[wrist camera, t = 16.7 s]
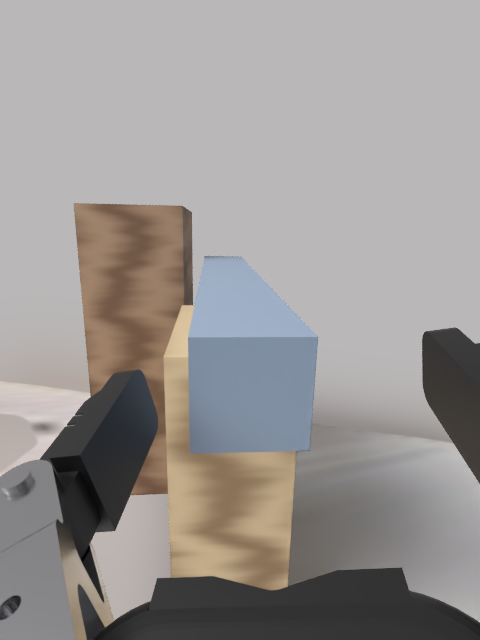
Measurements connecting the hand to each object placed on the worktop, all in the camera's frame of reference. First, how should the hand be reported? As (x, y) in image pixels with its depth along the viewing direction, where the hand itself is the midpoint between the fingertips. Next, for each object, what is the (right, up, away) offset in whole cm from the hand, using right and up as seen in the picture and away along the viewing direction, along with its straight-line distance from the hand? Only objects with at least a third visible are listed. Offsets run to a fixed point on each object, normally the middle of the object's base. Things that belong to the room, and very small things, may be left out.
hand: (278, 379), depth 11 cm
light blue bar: (-2, +1, +16) cm, 16 cm away
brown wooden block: (-13, -16, +41) cm, 46 cm away
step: (-2, -21, +23) cm, 31 cm away
